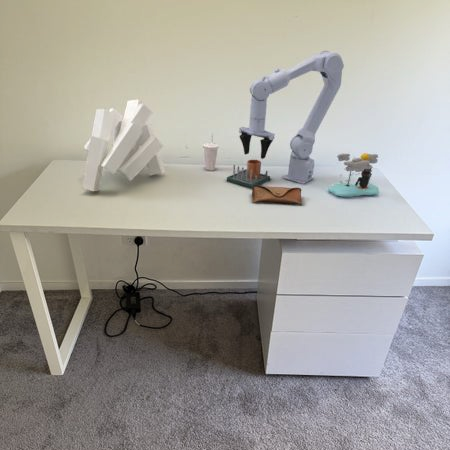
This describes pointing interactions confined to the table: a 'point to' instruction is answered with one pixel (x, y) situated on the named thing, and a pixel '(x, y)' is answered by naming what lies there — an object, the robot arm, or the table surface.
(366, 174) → the penguin figurine
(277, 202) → the sunglasses case
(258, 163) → the cup
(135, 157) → the pile of blocks
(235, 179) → the rack
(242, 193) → the table surface
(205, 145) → the smoothie
